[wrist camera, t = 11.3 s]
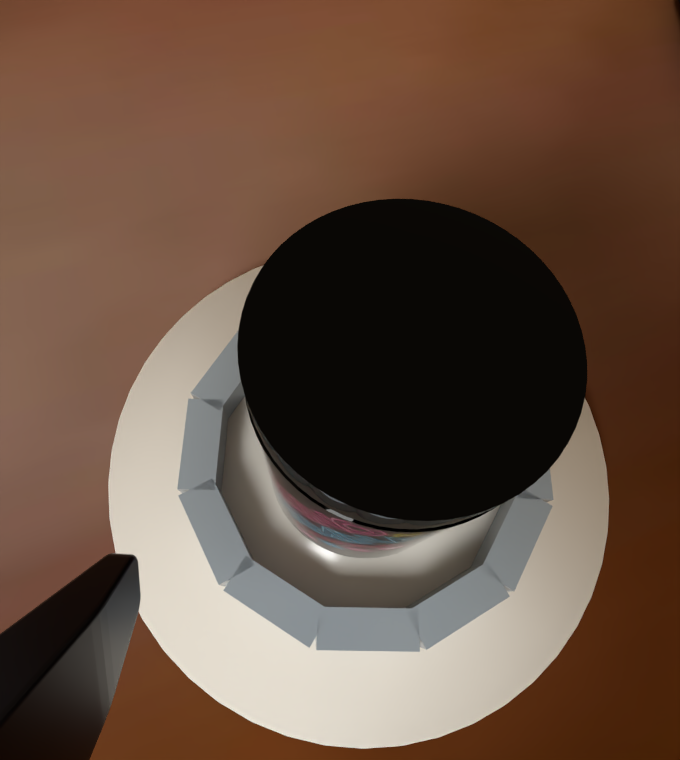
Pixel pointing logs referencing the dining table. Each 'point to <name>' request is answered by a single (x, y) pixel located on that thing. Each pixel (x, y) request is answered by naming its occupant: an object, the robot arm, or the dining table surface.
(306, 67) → the dining table surface
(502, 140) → the dining table surface
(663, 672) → the dining table surface
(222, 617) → the round tray
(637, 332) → the dining table surface
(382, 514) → the supplement container
